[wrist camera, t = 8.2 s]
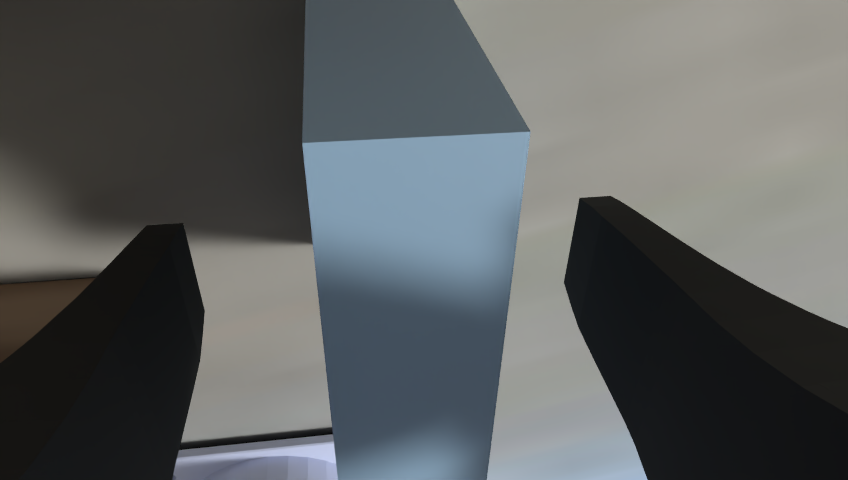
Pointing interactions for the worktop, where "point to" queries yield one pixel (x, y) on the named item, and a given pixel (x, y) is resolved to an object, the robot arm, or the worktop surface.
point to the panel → (410, 232)
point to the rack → (32, 309)
